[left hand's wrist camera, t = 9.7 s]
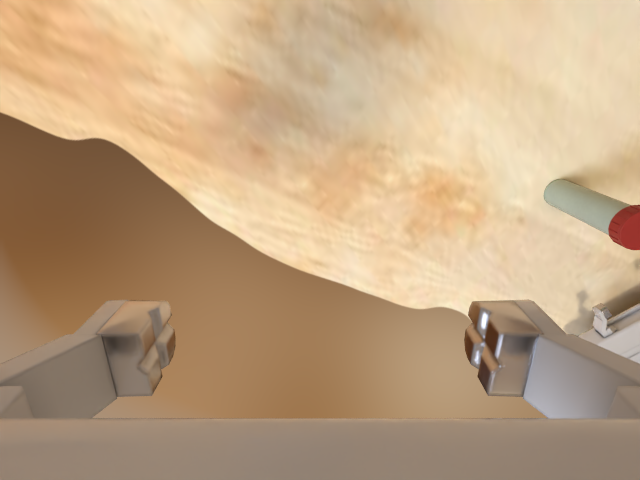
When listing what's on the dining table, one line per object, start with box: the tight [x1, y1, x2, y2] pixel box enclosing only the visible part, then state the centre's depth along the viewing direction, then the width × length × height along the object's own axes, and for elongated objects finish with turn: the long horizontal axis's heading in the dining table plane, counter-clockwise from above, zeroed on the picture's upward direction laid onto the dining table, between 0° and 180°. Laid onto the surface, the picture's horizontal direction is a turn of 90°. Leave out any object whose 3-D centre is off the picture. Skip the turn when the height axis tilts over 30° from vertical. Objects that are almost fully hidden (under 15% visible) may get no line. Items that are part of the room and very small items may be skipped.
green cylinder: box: [544, 179, 632, 235], centre depth 50 cm, size 4×4×16 cm
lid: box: [608, 205, 640, 250], centre depth 43 cm, size 5×5×2 cm
